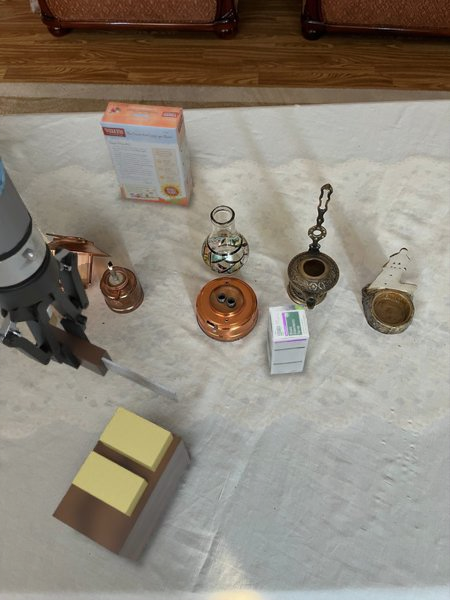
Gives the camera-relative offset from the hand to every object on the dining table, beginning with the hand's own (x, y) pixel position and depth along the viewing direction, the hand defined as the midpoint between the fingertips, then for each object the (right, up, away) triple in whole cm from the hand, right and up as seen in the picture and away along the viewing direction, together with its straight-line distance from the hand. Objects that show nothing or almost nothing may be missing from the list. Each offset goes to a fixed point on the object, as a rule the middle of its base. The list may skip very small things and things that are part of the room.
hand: (77, 353), depth 73 cm
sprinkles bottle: (-9, -1, +22) cm, 23 cm away
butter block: (+9, -12, -2) cm, 15 cm away
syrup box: (+31, -3, +19) cm, 36 cm away
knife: (+5, -2, -1) cm, 6 cm away
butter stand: (+7, -22, +8) cm, 25 cm away
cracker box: (+7, +30, +38) cm, 49 cm away
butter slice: (+6, -17, -4) cm, 18 cm away
